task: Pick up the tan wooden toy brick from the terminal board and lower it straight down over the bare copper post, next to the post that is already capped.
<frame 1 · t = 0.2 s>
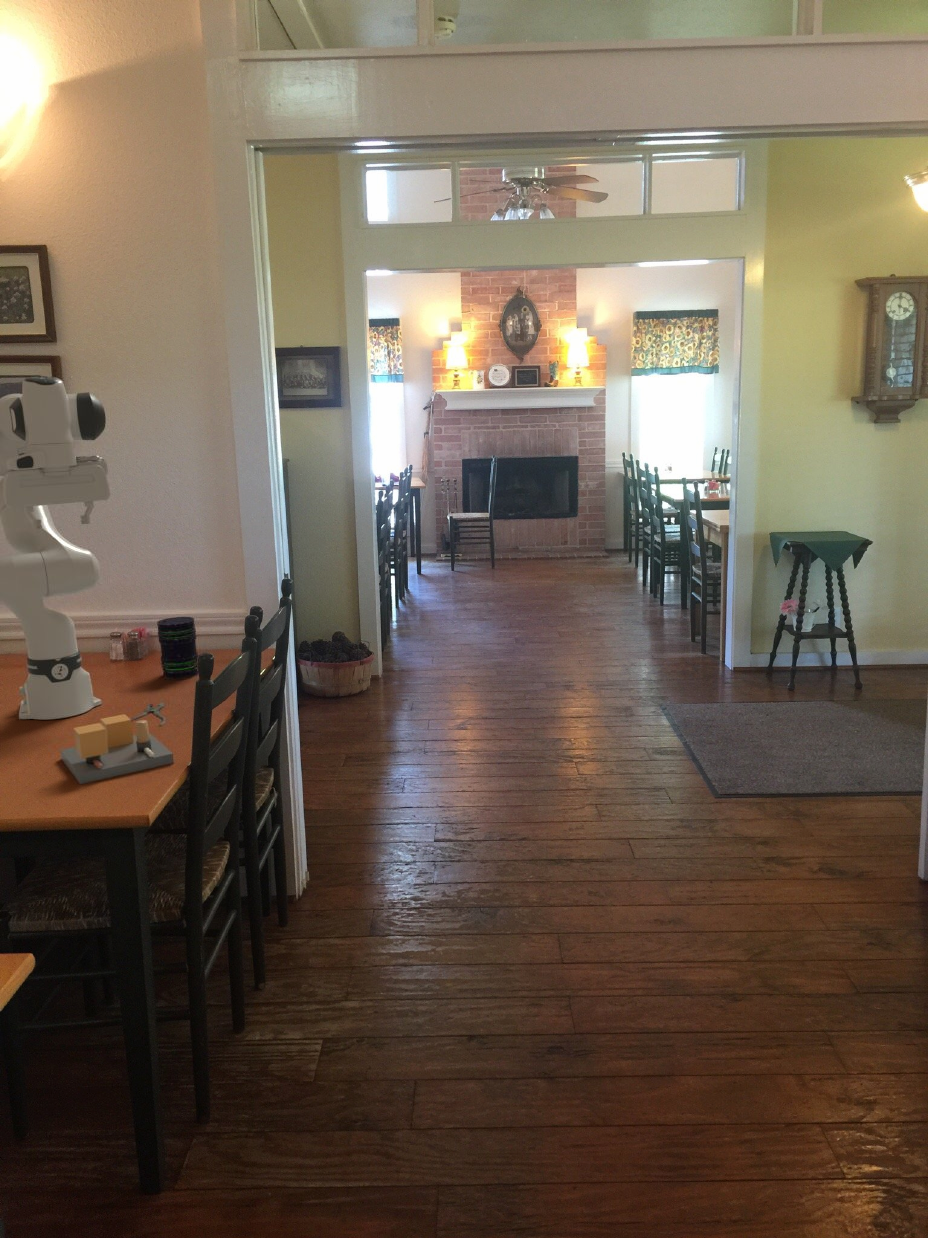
hand: (61, 526, 202), 47 cm above the table, tool pointing down, fingers open, 8 cm apart
pliers: (144, 718, 231), on the table
tan wooden toy brick: (118, 742, 206), point 2 cm above the table, touching terminal board
terminal board: (116, 761, 200), on the table
storage jar: (181, 674, 268), on the table
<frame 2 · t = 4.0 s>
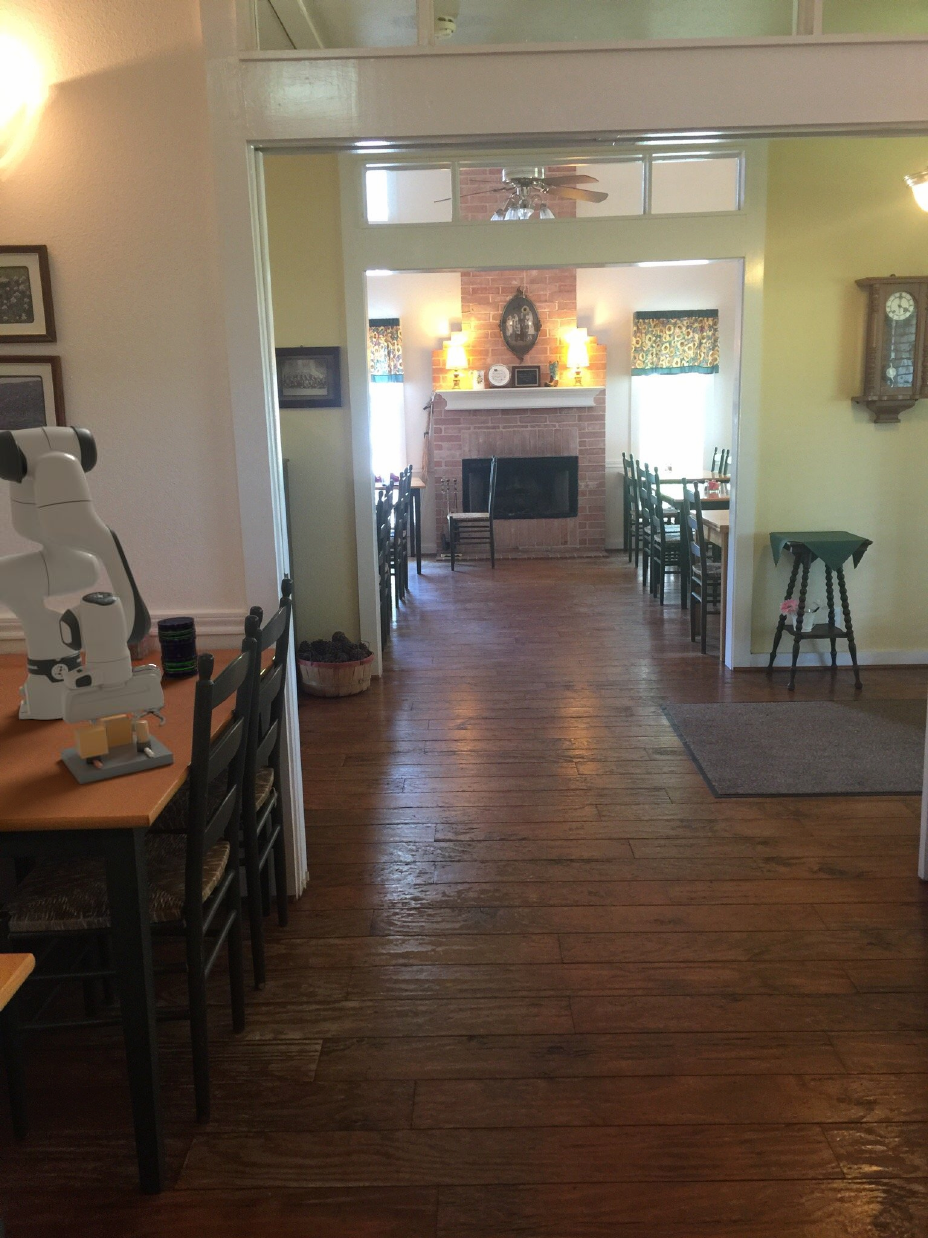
hand: (117, 734, 206), 4 cm above the table, tool pointing down, fingers closed on tan wooden toy brick, 5 cm apart
tan wooden toy brick: (118, 742, 206), point 2 cm above the table, touching gripper, terminal board
everything else where it was.
when the fingers open (6 cm above the table, at t = 9.7 s): tan wooden toy brick stays where it is, resting on terminal board.
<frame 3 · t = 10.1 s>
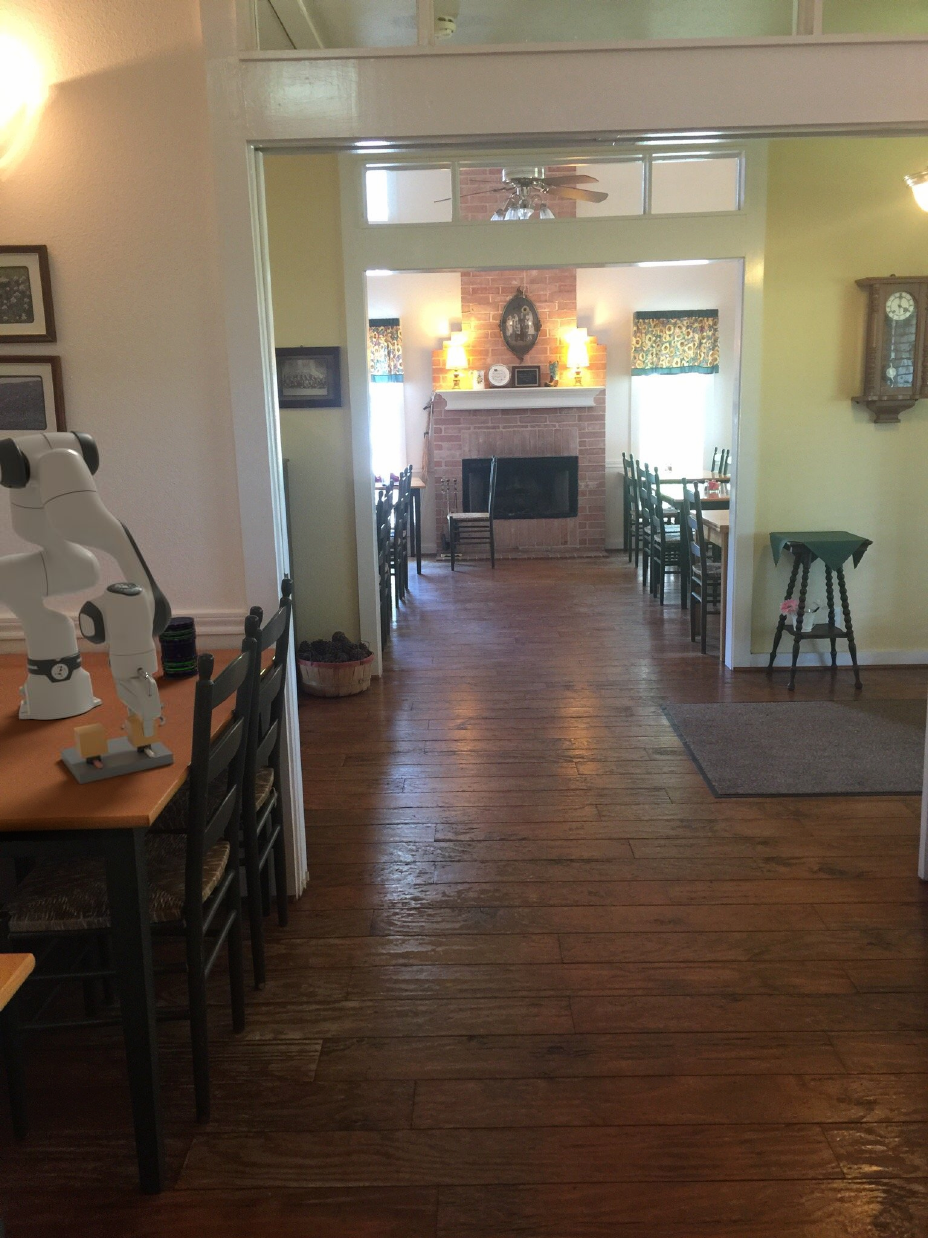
hand: (142, 730, 199), 6 cm above the table, tool pointing down, fingers open, 8 cm apart
tan wooden toy brick: (143, 741, 200), point 4 cm above the table, touching terminal board
everything else where it was.
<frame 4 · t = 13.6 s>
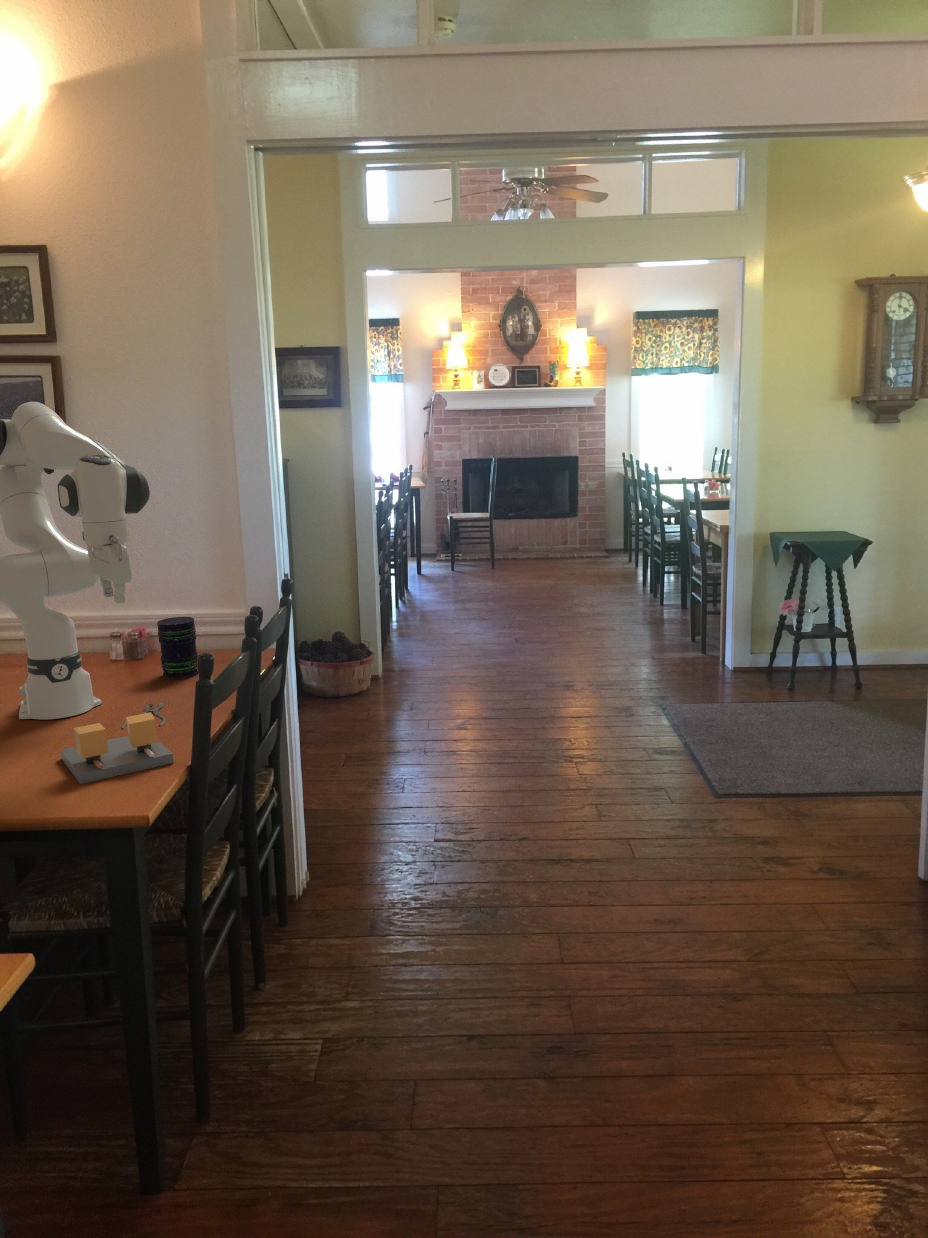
hand: (114, 599, 207), 31 cm above the table, tool pointing down, fingers open, 8 cm apart
nothing on the table moved.
at the end: tan wooden toy brick 0.1 cm from the target spot on the terminal board, point 3.9 cm above the terminal board's base; tan wooden toy brick tilted 3°; the gripper is holding nothing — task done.
